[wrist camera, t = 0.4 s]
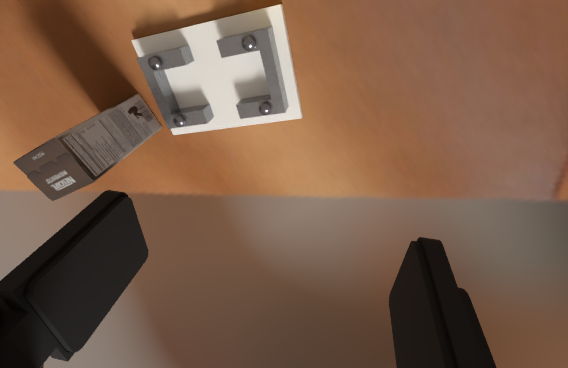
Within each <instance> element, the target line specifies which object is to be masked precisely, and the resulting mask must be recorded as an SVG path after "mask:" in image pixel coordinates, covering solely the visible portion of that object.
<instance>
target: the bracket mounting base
mask: <svg viewBox="0 0 568 368" xmlns="http://www.w3.org/2000/svg"><path fill="white" fill-rule="evenodd" d="M216 41H217V45H218V48H219V51H220V55H221V58H224V57H229V56H234V55H239V54H244V53H249V52H254V51H259V50H260V54H261V58H262V63H263V67H264V71H265V75H266V79H267V84H268V88H269V92H270V94H269V95H262V96H256V97H250V98H244V99H241V100H240V101H239V102H238V103H237V104H236V107H237V111H238V114H239V117H240V119H244V118H251V117H258V116H266V115H273V114H280V113H286V111H287V109H288V107H289V105H288V100H287V95H286V90H285V85H284V80H283V75H282V71H281V66H280V61H279V56H278V51H277V46H276V41H275V37H274V32H273V27H272V26H271V27H266V28H262V29H258V30H253V31H249V32H244V33H240V34H235V35H231V36H226V37H223V38H220V39H218V40H216ZM137 60H138V62H139V64H140V67H141V69H142V71H143V73H144V75H145V78H146V80H147V82H148V84H149V87H150V89H151V91H152V93H153V96H154V98H155V100H156V102H157V104H158V107H159V109H160V111H161V113H162V116H163V118H164V120H165V122H166V124H167V127H168V129H172V128H179V127H186V126H194V125H201V124H208V123H209V122H210V121H211V120H212V119H213V118H214V115H213V112H212V109H211V106H210V104H206V105H199V106H193V107H187V108H179V105H178V103H177V100H176V98H175V95H174V93H173V91H172V88H171V86H170V83H169V81H168V78H167V76H166V74H165V71H164V70H165V69H170V68H175V67H180V66H185V65H187V64H189V63H191V62H193V61H194V58H193V55H192V52H191V49H190V46H189V45H186V46H181V47H177V48H172V49H168V50H163V51H159V52H154V53H150V54H146V55H144V56H141V57H138V58H137Z"/></svg>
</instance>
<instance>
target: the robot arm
mask: <svg viewBox="0 0 568 368" xmlns="http://www.w3.org/2000/svg"><path fill="white" fill-rule="evenodd" d="M147 257H148V248H147V245H146V242H145V239H144V236H143V233H142V230H141V227H140V224H139V221H138V218H137V215H136V212H135V209H134V206H133V202H132V200H131V198H129V197H128V195H127V194H126V193H124V192H118V191H111V190H107V191H105V192H103V193H102V194H101V195H100V196H99V197H98V198H96V199H95V200H94V201H93V202H92V203H91V204H90V205H88V206H87V207H86V208H85V209H83V210H82V211H81V212H80V213H79V214H78V215H77V216H75V217H74V218H73V219H72V220H71V221H70V222H68V223H67V224H66V225H65V226H64V227H63V228H61V229H60V230H59V231H58V232H57V233H56V234H54V235H53V236H52V237H51V238H50V239H49V240H47V241H46V242H45V243H44V244H43V245H42V246H40V247H39V248H38V249H37V250H36V251H35V252H33V253H32V254H31V255H30V256H29V257H28V258H26V259H25V260H24V261H23V262H22V263H21V264H20V265H18V266H17V267H16V268H15V269H14V270H12V271H11V272H10V273H9V274H8V275H7V276H5V277H4V278H3V279H2V280H1V281H0V368H43V367H44V362H45V361H46V360H47V358H48V357H49V356H51V357H52V358H55V359H59V360H64V361H69V360H70V358H71V357H72V356H73V354H74V353H75V352H77V351H79V350H80V349H81V348H82V347H83V346H84V345H85V343H86V342H87V341H88V339H89V338H90V336H91V335H92V334H93V332H94V331H95V330H96V328H97V327H98V325H99V324H100V323H101V321H102V320H103V319H104V317H105V316H106V315H107V313H108V312H109V311H110V309H111V308H112V306H113V305H114V304H115V302H116V301H117V300H118V298H119V297H120V295H121V294H122V293H123V291H124V290H125V289H126V287H127V286H128V284H129V283H130V282H131V280H132V279H133V278H134V276H135V275H136V273H137V272H138V271H139V269H140V268H141V267H142V265H143V263H145V261H146V259H147ZM389 308H390V316H391V324H392V333H393V341H394V349H395V357H396V365H397V368H496V365H495V363H494V360H493V357H492V355H491V352H490V349H489V347H488V344H487V341H486V339H485V336H484V334H483V331H482V328H481V326H480V323H479V321H478V318H477V315H476V313H475V310H474V308H473V305H472V302H471V299H470V297H469V295H468V293H467V292H466V291H465V290H464V289H462V288H458V287H457V284H456V281H455V278H454V275H453V273H452V270H451V267H450V264H449V261H448V258H447V256H446V253H445V250H444V247H443V244H442V243H441V241H440V240H435V239H428V238H422V237H420V238H418V239H417V241H411V243H410V245H409V248H408V250H407V253H406V255H405V258H404V260H403V262H402V265H401V268H400V270H399V273H398V275H397V277H396V280H395V282H394V285H393V287H392V290H391V292H390V296H389Z"/></svg>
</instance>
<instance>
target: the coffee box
mask: <svg viewBox="0 0 568 368" xmlns="http://www.w3.org/2000/svg"><path fill="white" fill-rule="evenodd" d="M161 128H162V126H161V124H160V123H159V122H158V120H157V119H156V117H155V116H154V115H153V113H152V112H151V110H150V109H149V107H148V106H147V105H146V103H145V102H144V100H143V99H142V98H141V96H140V95H139V94H135V95H133V96H131V97H130V98H128V99H126V100H124V101H122V102H120V103H118V104H116V105H114V106H112V107H110V108H108V109H106V110H104V111H103V112H101V113H99V114H97V115H95V116H93V117H91V118H89V119H88V120H86V121H84V122H82V123H80V124H78V125H76V126H74V127H73V128H71V129H69V130H67V131H65V132H63V133H62V134H60V135H58V136H56V137H54V138H53V139H51V140H49V141H47V142H46V143H44V144H42V145H40V146H39V147H37V148H35V149H34V150H32V151H30V152H29V153H27V154H26V155H24V156H22V157H21V158H19V159H17V160H16V161H14V162H13V163H14V164H15V165H16V166H17V167H18V168H19V169H20V170H21V171H22V172H24V173H25V174H26V175H27V177H28V178H29V179H30V180H31V182H32V183H33V184H34V185H35V186H36V187H37V188H39V189H40V190H41V191H42V192H43V193H44V194H45V195H46V196H47V197H48V198H49V199H51V200H52V201H54V200H56V199H59V198H61V197H63V196H65V195H67V194H70V193H72V192H74V191H76V190H78V189H80V188H82V187H85V186H87V185H89V184H91V183H93V182H95V181H96V180H97V179H98V178H100V177H101V176H102V175H103V174H105V173H106V172H107V171H108V170H110V169H111V168H112V167H113V166H115V165H116V164H117V163H118V162H120V161H121V160H122V159H123V158H125V157H126V156H127V155H129V154H130V153H131V152H132V151H134V150H135V149H136V148H137V147H139V146H140V145H141V144H142V143H144V142H145V141H146V140H148V139H149V138H150V137H151V136H153V135H154V134H155V133H156V132H158V131H159V130H160V129H161Z"/></svg>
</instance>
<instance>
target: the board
mask: <svg viewBox="0 0 568 368" xmlns="http://www.w3.org/2000/svg"><path fill="white" fill-rule="evenodd" d="M271 26H272V27H273V32H274V37H275V41H276V46H277V51H278V56H279V61H280V66H281V71H282V75H283V80H284V85H285V90H286V95H287V100H288V105H289V107H288V109H287V111H286V113H280V114H273V115H266V116H258V117H251V118H244V119H240V117H239V114H238V111H237V107H236V104H237V103H238V102H239V101H240V100H241V99H244V98H250V97H256V96H262V95H269V94H270V92H269V88H268V84H267V79H266V75H265V71H264V67H263V63H262V58H261V54H260V50H259V51H254V52H249V53H244V54H239V55H234V56H229V57H224V58H221V55H220V51H219V48H218V45H217V41H216V40H218V39H220V38H223V37H226V36H231V35H235V34H240V33H244V32H249V31H253V30H258V29H262V28H266V27H271ZM131 41H132V43H133V45H134V48H135V50H136V52H137V54H138V56H139V57H141V56H144V55H146V54H150V53H154V52H159V51H163V50H168V49H172V48H177V47H181V46H186V45H189V46H190V49H191V52H192V55H193V58H194V61H193V62H191V63H189V64H187V65H185V66H180V67H175V68H170V69H165V70H164V71H165V74H166V76H167V78H168V81H169V83H170V86H171V88H172V91H173V93H174V95H175V98H176V100H177V103H178V105H179V108H187V107H193V106H199V105H206V104H210V106H211V109H212V112H213V115H214V118H213V119H212V120H211V121H210V122H209V123H208V124H201V125H194V126H186V127H179V128H172V129H171V131H172V133H173V135H178V134H186V133H194V132H201V131H209V130H216V129H224V128H232V127H239V126H247V125H254V124H262V123H270V122H277V121H285V120H293V119H300V118H302V117H303V114H302V108H301V103H300V97H299V92H298V86H297V81H296V75H295V70H294V64H293V59H292V53H291V48H290V43H289V37H288V32H287V26H286V21H285V15H284V10H283V4H279V5H275V6H271V7H267V8H262V9H258V10H254V11H250V12H246V13H242V14H238V15H234V16H229V17H225V18H221V19H217V20H213V21H209V22H205V23H201V24H196V25H192V26H188V27H184V28H180V29H176V30H172V31H168V32H163V33H159V34H155V35H151V36H147V37H143V38H139V39H135V40H131Z"/></svg>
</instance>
